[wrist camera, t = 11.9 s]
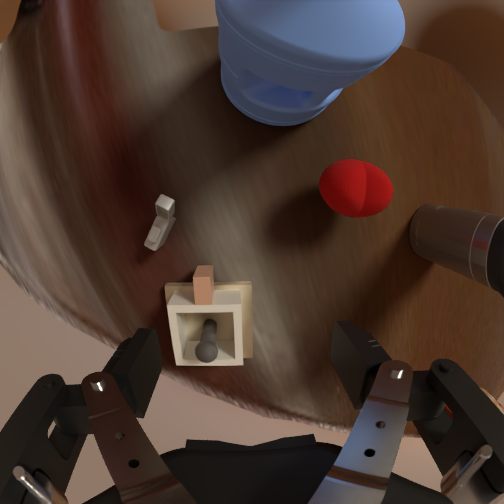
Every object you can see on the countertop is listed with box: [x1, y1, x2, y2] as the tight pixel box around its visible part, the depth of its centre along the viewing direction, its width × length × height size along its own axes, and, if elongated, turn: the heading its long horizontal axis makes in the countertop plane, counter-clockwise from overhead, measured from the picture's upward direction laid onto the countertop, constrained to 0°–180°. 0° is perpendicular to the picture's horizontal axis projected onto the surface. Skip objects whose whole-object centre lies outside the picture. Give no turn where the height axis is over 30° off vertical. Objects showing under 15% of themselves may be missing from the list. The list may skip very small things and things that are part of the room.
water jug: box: [215, 0, 405, 126], centre depth 19 cm, size 16×16×28 cm
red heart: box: [319, 159, 393, 217], centre depth 31 cm, size 9×7×10 cm
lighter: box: [144, 194, 176, 251], centre depth 32 cm, size 7×2×8 cm, turn 151°
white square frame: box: [167, 265, 243, 366], centre depth 35 cm, size 9×12×5 cm
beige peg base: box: [165, 281, 253, 363], centre depth 34 cm, size 12×12×10 cm
